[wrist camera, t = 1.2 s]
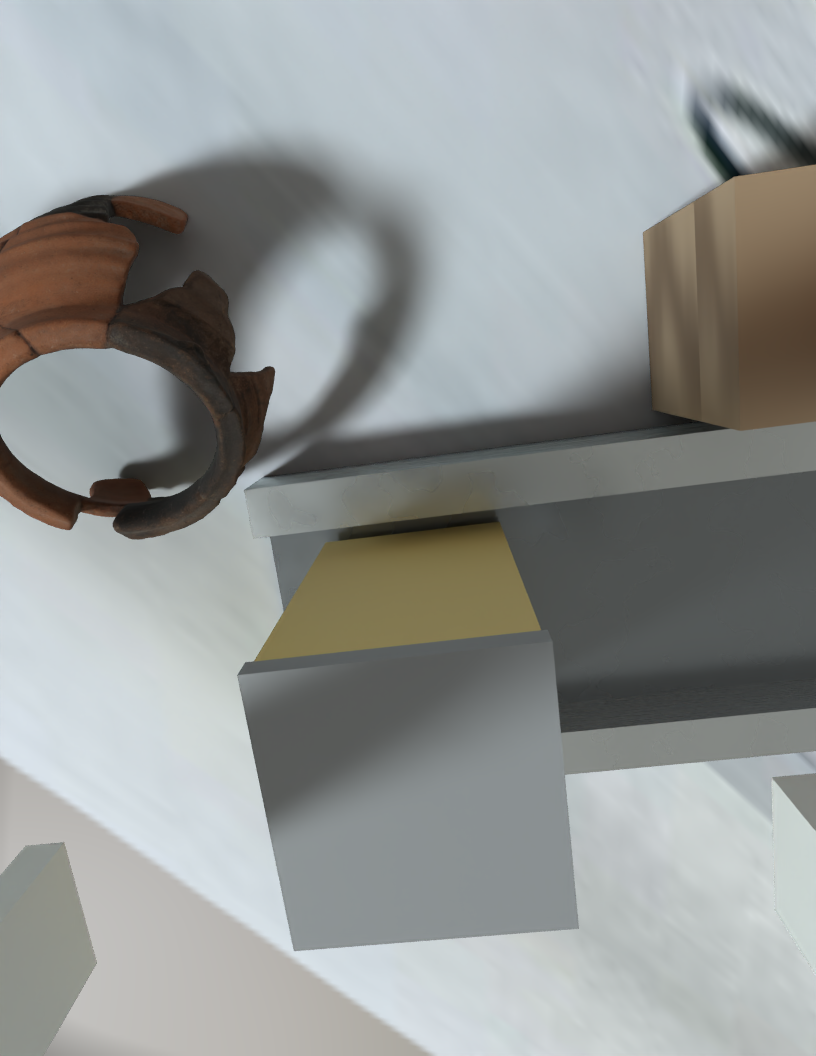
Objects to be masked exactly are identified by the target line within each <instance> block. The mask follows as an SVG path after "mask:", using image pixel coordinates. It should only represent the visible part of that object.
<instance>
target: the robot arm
mask: <svg viewBox="0 0 816 1056" xmlns="http://www.w3.org/2000/svg"><path fill="white" fill-rule="evenodd" d="M772 816H773V861H774V906H775V911H776V913H777V914H778V916H779V918H780V919H781V921H782V922H783V924H784V926H785V927H786V929H787V930H788V932H789V934H790V935H791V937H792V938H793V940H794V942H795V943H796V945H797V947H798V948H799V950H800V951H801V953H802V955H803V956H804V958H805V959H806V961H807V963H808V964H809V966H810V967H811V969H812V971H813V972H814V974H815V975H816V773H815V774H804V775H793V776H782V777H772ZM96 964H97V961H96V958H95V954H94V950H93V947H92V943H91V939H90V936H89V932H88V929H87V925H86V921H85V917H84V914H83V910H82V906H81V903H80V899H79V896H78V892H77V888H76V884H75V881H74V877H73V873H72V870H71V866H70V862H69V859H68V855H67V851H66V848H65V844H64V842H63V843H51V844H40V845H31V846H25V847H24V849H23V850H22V851H21V852H20V853H19V854H18V856H17V857H16V858H15V859H14V860H13V861H12V862H11V864H10V865H9V866H8V867H7V868H6V869H5V871H4V872H3V873H2V874H1V875H0V1056H44V1054H45V1052H46V1051H47V1049H48V1047H49V1046H50V1044H51V1042H52V1040H53V1039H54V1037H55V1035H56V1034H57V1032H58V1030H59V1028H60V1026H61V1025H62V1023H63V1021H64V1020H65V1018H66V1016H67V1014H68V1013H69V1011H70V1009H71V1007H72V1006H73V1004H74V1002H75V1000H76V999H77V997H78V995H79V993H80V992H81V990H82V988H83V987H84V985H85V983H86V981H87V979H88V978H89V976H90V974H91V973H92V971H93V969H94V967H95V966H96Z"/></svg>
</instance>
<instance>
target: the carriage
mask: <svg viewBox="0 0 816 1056" xmlns="http://www.w3.org/2000/svg"><path fill="white" fill-rule="evenodd" d="M237 676H238V681H239V686H240V691H241V696H242V700H243V705H244V710H245V715H246V720H247V725H248V730H249V735H250V739H251V744H252V749H253V754H254V759H255V764H256V769H257V773H258V778H259V783H260V788H261V793H262V798H263V803H264V808H265V812H266V817H267V822H268V827H269V832H270V837H271V842H272V847H273V851H274V856H275V861H276V866H277V871H278V876H279V881H280V886H281V890H282V895H283V900H284V905H285V910H286V915H287V920H288V924H289V929H290V934H291V939H292V944H293V949H294V951H301V950H314V949H327V948H339V947H352V946H365V945H377V944H390V943H403V942H415V941H428V940H441V939H453V938H466V937H479V936H491V935H504V934H517V933H530V932H542V931H555V930H568V929H579V925H578V914H577V903H576V892H575V881H574V870H573V859H572V849H571V838H570V827H569V816H568V805H567V794H566V783H565V772H564V761H563V750H562V739H561V728H560V718H559V707H558V696H557V685H556V674H555V663H554V652H553V641H552V639H551V636H550V634H549V632H548V630H541V628H540V625H539V623H538V620H537V618H536V615H535V612H534V610H533V607H532V605H531V602H530V599H529V597H528V594H527V592H526V589H525V587H524V584H523V581H522V579H521V576H520V574H519V571H518V568H517V566H516V563H515V561H514V558H513V555H512V553H511V550H510V548H509V545H508V542H507V540H506V537H505V535H504V532H503V529H502V527H501V524H500V522H492V523H483V524H475V525H467V526H458V527H450V528H442V529H433V530H425V531H417V532H408V533H400V534H392V535H383V536H375V537H367V538H358V539H350V540H342V541H333V542H326V543H325V545H324V546H323V548H322V549H321V551H320V553H319V554H318V556H317V558H316V559H315V561H314V563H313V564H312V566H311V568H310V569H309V571H308V573H307V574H306V576H305V578H304V579H303V581H302V583H301V584H300V586H299V588H298V589H297V591H296V593H295V594H294V596H293V598H292V599H291V601H290V603H289V604H288V606H287V608H286V609H285V611H284V613H283V614H282V616H281V617H280V619H279V621H278V622H277V624H276V626H275V627H274V629H273V631H272V632H271V634H270V636H269V637H268V639H267V641H266V642H265V644H264V646H263V647H262V649H261V651H260V652H259V654H258V656H257V657H256V659H255V661H254V662H245V664H244V665H243V667H242V669H241V670H240V672H239V673H238V675H237Z"/></svg>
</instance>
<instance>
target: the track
mask: <svg viewBox="0 0 816 1056" xmlns="http://www.w3.org/2000/svg"><path fill="white" fill-rule="evenodd" d="M244 493H245V498H246V503H247V508H248V514H249V519H250V524H251V529H252V535H253V539H254V538H262V537H270V539H271V544H272V550H273V555H274V561H275V566H276V571H277V577H278V582H279V588H280V593H281V599H282V604H283V609H284V611H285V609H286V608H287V606H288V604H289V603H290V601H291V599H292V598H293V596H294V594H295V593H296V591H297V589H298V588H299V586H300V584H301V583H302V581H303V579H304V578H305V576H306V574H307V573H308V571H309V569H310V568H311V566H312V564H313V563H314V561H315V559H316V558H317V556H318V554H319V553H320V551H321V549H322V548H323V546H324V545H325V543H326V542H333V541H342V540H350V539H358V538H367V537H375V536H383V535H392V534H400V533H408V532H417V531H425V530H433V529H442V528H450V527H458V526H467V525H475V524H483V523H492V522H500V524H501V527H502V529H503V532H504V535H505V537H506V540H507V542H508V545H509V548H510V550H511V553H512V555H513V558H514V561H515V563H516V566H517V568H518V571H519V574H520V576H521V579H522V581H523V584H524V587H525V589H526V592H527V594H528V597H529V599H530V602H531V605H532V607H533V610H534V612H535V615H536V618H537V620H538V623H539V625H540V628H541V630H548V632H549V634H550V636H551V639H552V641H553V652H554V663H555V674H556V685H557V696H558V707H559V718H560V728H561V739H562V750H563V761H564V772H565V775H567V774H577V773H588V772H598V771H609V770H620V769H630V768H641V767H652V766H662V765H673V764H683V763H694V762H705V761H715V760H726V759H736V758H747V757H758V756H768V755H779V754H790V753H800V752H811V751H816V422H808V423H800V424H792V425H784V426H776V427H768V428H760V429H752V430H744V431H739V430H734V429H730V428H726V427H722V426H718V425H713V424H709V423H705V422H695V423H687V424H679V425H671V426H663V427H655V428H648V429H640V430H632V431H624V432H616V433H608V434H601V435H593V436H585V437H577V438H569V439H561V440H553V441H546V442H538V443H530V444H522V445H514V446H506V447H498V448H491V449H483V450H475V451H467V452H459V453H451V454H444V455H436V456H428V457H420V458H412V459H404V460H396V461H389V462H381V463H373V464H365V465H357V466H349V467H342V468H334V469H326V470H318V471H310V472H302V473H294V474H287V475H279V476H271V477H263V478H261V479H260V480H258V481H257V482H255V483H254V484H252V485H251V486H249V487H248V488H246V489H245V490H244Z"/></svg>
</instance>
